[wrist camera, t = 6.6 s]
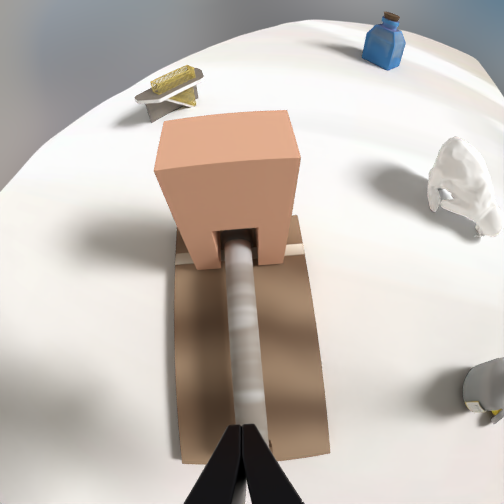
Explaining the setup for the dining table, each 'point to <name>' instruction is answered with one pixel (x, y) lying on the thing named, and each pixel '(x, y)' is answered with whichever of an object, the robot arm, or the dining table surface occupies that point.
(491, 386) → the reed diffuser
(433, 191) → the white lumpy figurine
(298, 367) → the pipe rig
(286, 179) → the peach rectangular block
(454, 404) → the dining table surface
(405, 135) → the dining table surface
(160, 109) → the platform
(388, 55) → the perfume bottle
